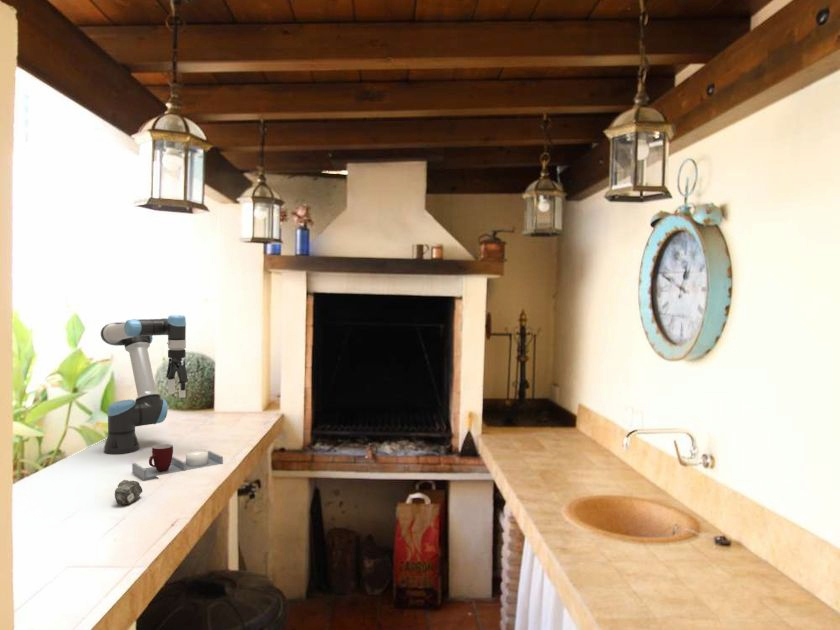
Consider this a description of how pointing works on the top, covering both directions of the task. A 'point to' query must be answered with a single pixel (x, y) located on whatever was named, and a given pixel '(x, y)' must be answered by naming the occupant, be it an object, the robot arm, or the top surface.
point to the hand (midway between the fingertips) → (176, 395)
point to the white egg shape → (196, 457)
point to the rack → (173, 467)
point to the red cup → (161, 457)
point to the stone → (127, 492)
